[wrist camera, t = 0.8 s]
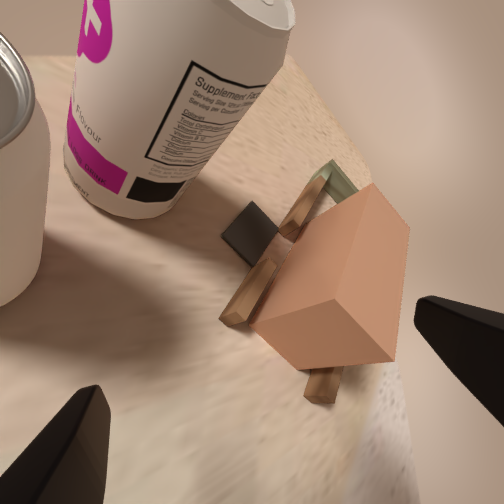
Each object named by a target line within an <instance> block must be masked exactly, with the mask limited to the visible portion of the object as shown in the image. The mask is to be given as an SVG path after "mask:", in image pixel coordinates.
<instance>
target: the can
mask: <svg viewBox="0 0 504 504" xmlns="http://www.w3.org/2000/svg"><path fill="white" fill-rule="evenodd" d="M49 167H50V133H49V127H48V123H47V120H46V117H45V115H44V112H43V110H42V108H41V106H40V104H39V102H38V101H37V99H36V97H35V88H34V84H33V80H32V77H31V75H30V72H29V70H28V68H27V66H26V64H25V62H24V61H23V59H22V58H21V56H20V55H19V53H18V52H17V51H16V49H15V48H14V47H13V45H12V44H11V43H10V42H9V41H8V40H7V39H6V38H5V36H4V35H3V34H2V33H1V32H0V307H1V306H3V305H5V304H7V303H8V302H10V301H11V300H13V299H14V298H16V297H17V296H18V295H19V294H21V293H22V292H23V291H24V290H25V289H26V288H27V287H28V285H29V284H30V283H31V282H32V280H33V279H34V277H35V275H36V273H37V270H38V268H39V264H40V260H41V253H42V244H43V234H44V224H45V213H46V203H47V191H48V180H49Z"/></svg>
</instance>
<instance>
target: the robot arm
mask: <svg viewBox="0 0 504 504" xmlns="http://www.w3.org/2000/svg"><path fill="white" fill-rule="evenodd" d="M414 325H415V327H416V329H417V330H418V331H419V332H420V334H421V335H422V336H423V337H424V339H425V340H426V341H427V342H428V344H429V345H430V346H431V347H432V348H433V349H434V351H435V352H436V353H437V355H438V356H439V357H440V358H441V360H442V361H443V362H444V363H445V365H446V366H447V367H448V368H449V369H450V370H451V372H452V373H453V374H454V375H455V376H456V377H457V378H458V379H459V380H460V382H461V383H462V384H463V385H464V386H465V387H467V389H468V390H469V391H470V392H471V393H472V394H473V395H474V396H475V397H476V398H477V399H478V400H479V401H480V403H481V404H483V406H484V407H485V408H486V409H487V410H488V411H489V412H490V413H491V414H492V415H493V416H494V417H495V418H496V419H497V420H498V421H499V422H500V423H501V425H502V426H503V427H504V314H503V313H499V312H495V311H491V310H487V309H483V308H480V307H476V306H472V305H468V304H464V303H460V302H456V301H452V300H448V299H445V298H441V297H437V296H426V297H422V298H420V299H418V301H417V303H416V310H415V315H414ZM110 421H111V412H110V407H109V405H108V402H107V400H106V398H105V396H104V394H103V391H102V389H101V387H100V386H99V385H92V386H88V387H84V388H81V389H79V390H78V391H77V392H76V393H75V394H74V395H73V396H72V397H71V398H70V399H69V401H68V402H67V403H66V404H65V405H64V406H63V407H62V408H61V410H60V411H59V412H58V413H57V414H56V415H55V416H54V417H53V418H52V420H51V421H50V422H49V423H48V424H47V425H46V426H45V427H44V429H43V430H42V431H41V432H40V433H39V434H38V435H37V436H36V438H35V439H34V440H33V441H32V442H31V443H30V444H29V445H28V446H27V448H26V449H25V450H24V451H23V452H22V453H21V454H20V455H19V457H18V458H17V459H16V460H15V461H14V462H13V463H12V464H11V465H10V467H9V468H8V469H7V470H6V471H5V472H4V473H3V474H2V476H1V477H0V504H103V500H104V494H105V486H106V476H107V462H108V448H109V435H110Z"/></svg>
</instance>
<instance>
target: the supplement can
mask: <svg viewBox="0 0 504 504" xmlns="http://www.w3.org/2000/svg"><path fill="white" fill-rule="evenodd" d="M294 25H295V10H294V8H293V5H292V3H291V0H85V1H84V8H83V15H82V22H81V29H80V36H79V43H78V50H77V57H76V64H75V71H74V78H73V85H72V92H71V99H70V106H69V113H68V120H67V127H66V134H65V140H64V147H63V156H64V169H65V171H66V173H67V174H68V176H69V178H70V180H71V182H72V184H73V186H74V187H75V188H76V189H77V190H78V191H79V192H80V193H81V194H82V195H83V196H84V197H85V198H86V199H87V200H88V201H89V202H90V203H92V204H94V205H95V206H97V207H99V208H101V209H103V210H105V211H107V212H109V213H111V214H113V215H117V216H122V217H126V218H131V219H146V218H155V217H157V216H159V215H161V214H163V213H166V212H168V211H169V210H170V209H171V208H172V207H173V206H174V204H175V203H176V202H177V201H178V199H179V198H180V197H181V196H182V194H183V193H184V192H185V190H186V189H187V188H188V187H189V185H190V184H191V183H192V181H193V180H194V179H195V178H196V176H197V175H198V174H199V172H200V171H201V170H202V169H203V167H204V166H205V165H206V163H207V162H208V161H209V160H210V158H211V157H212V156H213V154H214V153H215V152H216V151H217V149H218V148H219V147H220V145H221V144H222V143H223V142H224V140H225V139H226V138H227V136H228V135H229V134H230V133H231V131H232V130H233V129H234V127H235V126H236V125H237V124H238V122H239V121H240V120H241V118H242V117H243V116H244V115H245V113H246V112H247V111H248V109H249V108H250V107H251V106H252V104H253V103H254V102H255V100H256V99H257V98H258V97H259V95H260V94H261V93H262V91H263V90H264V89H265V88H266V86H267V85H268V84H269V82H270V81H271V80H272V79H273V77H274V76H275V75H276V73H277V72H278V71H279V70H280V68H281V67H282V66H283V62H284V58H285V53H286V48H287V44H288V40H289V35H290V31H291V29H292V28H293V27H294Z"/></svg>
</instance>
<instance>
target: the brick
mask: <svg viewBox="0 0 504 504" xmlns="http://www.w3.org/2000/svg"><path fill="white" fill-rule="evenodd" d="M409 231H410V227H409V226H408V225H407V224H406V223H405V221H404V220H403V219H402V218H401V216H400V215H399V214H398V213H397V212H396V210H395V209H394V208H393V207H392V205H391V204H390V203H389V202H388V200H387V199H386V198H385V197H384V196H383V194H382V193H381V192H380V191H379V189H378V188H377V187H376V186H375V184H374V183H371V184H370V185H368V186H366V187H365V188H363V189H362V190H360V191H358V192H357V193H355V194H353V195H352V196H350V197H348V198H347V199H345V200H344V201H342V202H340V203H339V204H337V205H335V206H334V207H332V208H330V209H329V210H327V211H326V212H324V213H322V214H321V215H319V216H317V217H316V218H314V219H312V220H311V221H309V222H308V223H306V224H305V225H304V227H303V229H302V230H301V232H300V234H299V236H298V238H297V239H296V241H295V243H294V245H293V247H292V248H291V250H290V252H289V254H288V256H287V257H286V259H285V261H284V263H283V265H282V266H281V268H280V270H279V272H278V274H277V275H276V277H275V279H274V281H273V282H272V284H271V286H270V288H269V290H268V291H267V293H266V295H265V297H264V299H263V300H262V302H261V304H260V306H259V308H258V309H257V311H256V313H255V315H254V317H253V318H252V320H251V322H250V324H249V326H250V327H251V328H252V329H253V330H254V331H255V332H256V333H258V334H259V335H260V336H261V337H262V338H263V339H264V340H265V341H266V342H267V343H268V344H269V345H270V346H272V347H273V348H274V349H275V350H276V351H277V352H278V353H279V354H280V355H281V356H282V357H283V358H284V359H286V360H287V361H288V362H289V363H290V364H291V365H292V366H293V367H294V368H295V369H296V370H302V369H313V368H325V367H337V366H348V365H360V364H372V363H384V362H395V353H396V344H397V336H398V326H399V318H400V310H401V300H402V292H403V283H404V275H405V266H406V257H407V248H408V240H409Z"/></svg>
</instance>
